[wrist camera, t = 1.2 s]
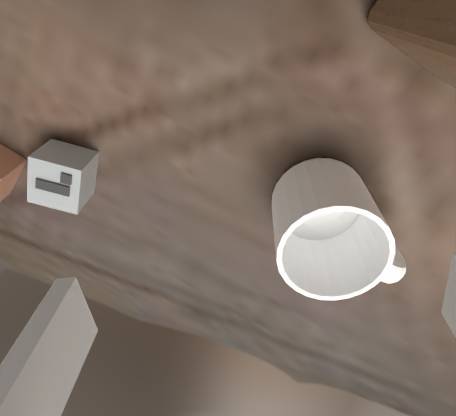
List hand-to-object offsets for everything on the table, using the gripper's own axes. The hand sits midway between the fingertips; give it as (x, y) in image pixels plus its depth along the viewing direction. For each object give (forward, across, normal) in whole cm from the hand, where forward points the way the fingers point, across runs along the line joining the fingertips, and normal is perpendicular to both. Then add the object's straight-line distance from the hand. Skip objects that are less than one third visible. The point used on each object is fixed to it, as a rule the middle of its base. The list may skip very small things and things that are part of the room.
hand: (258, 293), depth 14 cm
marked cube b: (+27, -20, -5) cm, 34 cm away
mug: (+27, +7, -12) cm, 30 cm away
